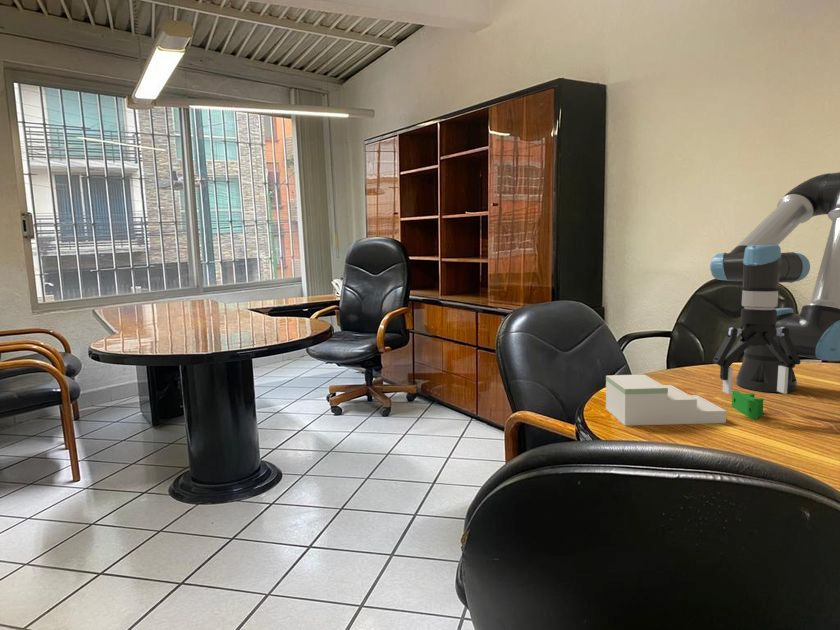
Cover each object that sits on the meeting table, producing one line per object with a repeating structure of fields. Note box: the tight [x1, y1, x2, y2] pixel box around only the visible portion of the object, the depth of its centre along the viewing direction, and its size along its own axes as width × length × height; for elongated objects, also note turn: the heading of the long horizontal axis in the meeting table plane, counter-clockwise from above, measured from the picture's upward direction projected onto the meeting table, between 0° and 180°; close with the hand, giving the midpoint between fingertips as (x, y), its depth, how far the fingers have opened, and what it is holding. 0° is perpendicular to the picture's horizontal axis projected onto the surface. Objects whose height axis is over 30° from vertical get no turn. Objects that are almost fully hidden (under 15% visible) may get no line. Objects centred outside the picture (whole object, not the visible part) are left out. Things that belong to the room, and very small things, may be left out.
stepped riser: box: [605, 374, 727, 427], centre depth 136 cm, size 24×14×9 cm, turn 89°
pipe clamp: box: [731, 390, 764, 421], centre depth 136 cm, size 11×4×5 cm, turn 174°
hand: (754, 392), depth 135 cm, fingers open, 13 cm apart
